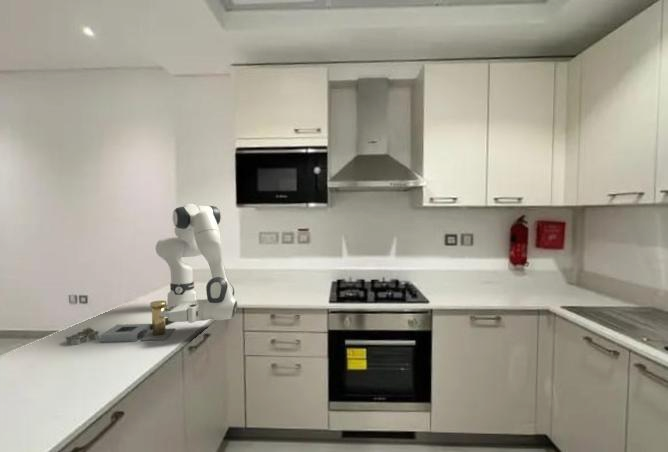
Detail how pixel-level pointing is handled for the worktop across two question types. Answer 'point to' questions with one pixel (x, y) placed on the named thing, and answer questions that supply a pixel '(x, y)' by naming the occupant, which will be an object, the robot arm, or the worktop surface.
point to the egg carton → (82, 336)
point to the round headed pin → (158, 318)
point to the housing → (125, 333)
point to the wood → (165, 322)
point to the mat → (156, 338)
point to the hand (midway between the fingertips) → (164, 310)
